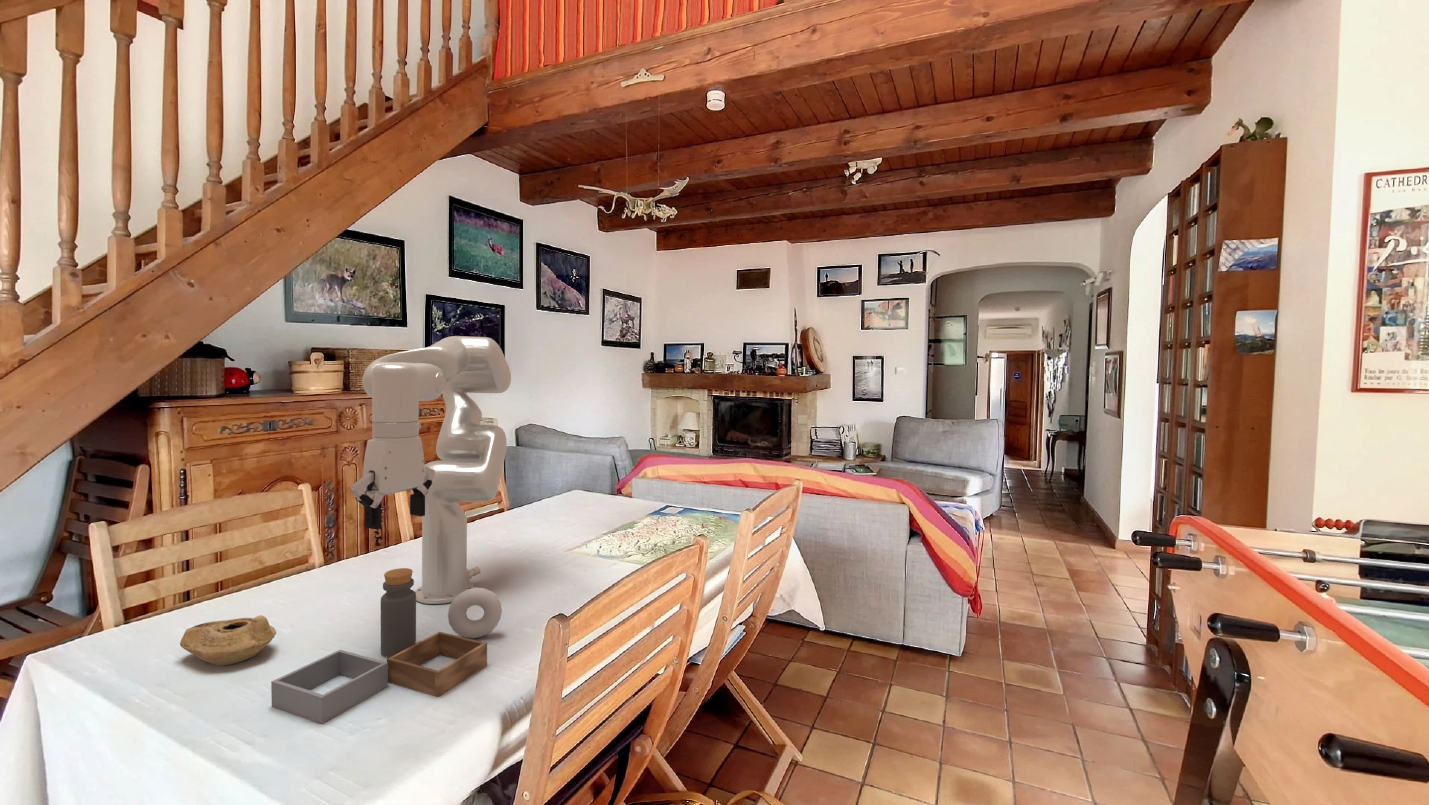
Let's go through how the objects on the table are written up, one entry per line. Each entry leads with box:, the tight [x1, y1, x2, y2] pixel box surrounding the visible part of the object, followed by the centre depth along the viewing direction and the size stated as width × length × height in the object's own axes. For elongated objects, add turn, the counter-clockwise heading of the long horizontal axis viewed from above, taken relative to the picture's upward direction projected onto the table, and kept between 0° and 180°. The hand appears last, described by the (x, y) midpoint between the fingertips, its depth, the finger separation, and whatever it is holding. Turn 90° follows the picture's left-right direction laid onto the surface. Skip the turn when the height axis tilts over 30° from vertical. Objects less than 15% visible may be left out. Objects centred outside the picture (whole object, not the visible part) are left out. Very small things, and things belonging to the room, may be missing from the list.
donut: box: [447, 587, 503, 639], centre depth 114 cm, size 10×4×10 cm, turn 106°
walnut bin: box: [386, 631, 488, 697], centre depth 101 cm, size 11×11×4 cm
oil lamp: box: [179, 614, 277, 666], centre depth 103 cm, size 11×15×8 cm
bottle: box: [380, 567, 417, 658], centre depth 108 cm, size 6×6×15 cm
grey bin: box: [270, 649, 389, 725], centre depth 93 cm, size 11×11×4 cm
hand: (396, 521), depth 107 cm, fingers open, 9 cm apart
